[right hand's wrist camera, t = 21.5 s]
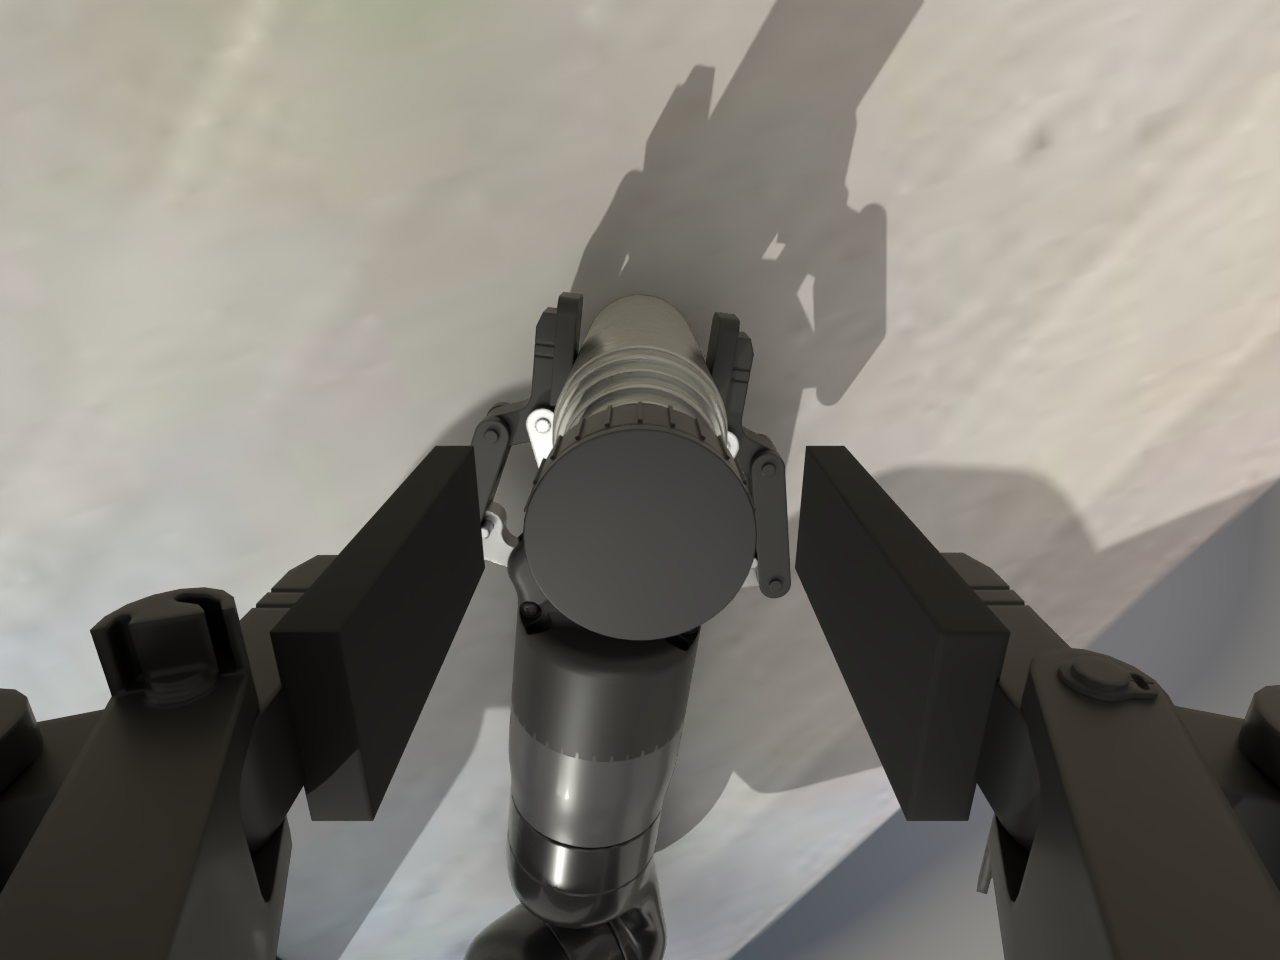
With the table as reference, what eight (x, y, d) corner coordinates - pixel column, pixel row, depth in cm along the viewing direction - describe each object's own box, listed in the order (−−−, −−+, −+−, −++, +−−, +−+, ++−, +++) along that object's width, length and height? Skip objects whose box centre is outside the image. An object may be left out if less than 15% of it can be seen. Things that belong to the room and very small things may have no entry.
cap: (759, 407, 14) (776, 434, 12) (733, 602, 15) (745, 650, 13) (535, 392, 13) (521, 417, 12) (532, 589, 15) (519, 636, 13)
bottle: (609, 277, 30) (565, 362, 12) (711, 320, 30) (809, 460, 13) (570, 379, 31) (482, 584, 14) (668, 418, 32) (703, 662, 14)
